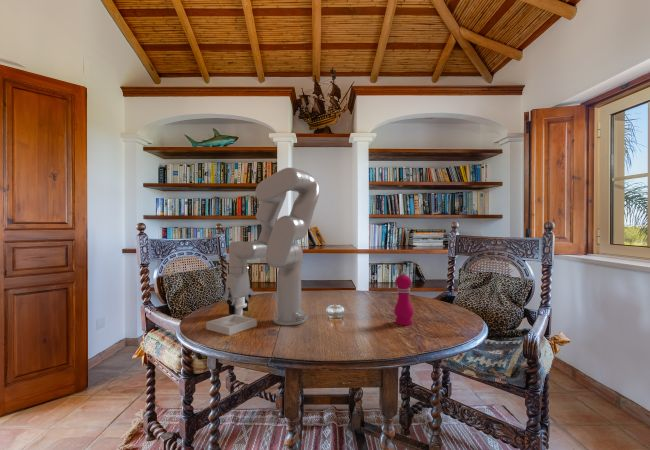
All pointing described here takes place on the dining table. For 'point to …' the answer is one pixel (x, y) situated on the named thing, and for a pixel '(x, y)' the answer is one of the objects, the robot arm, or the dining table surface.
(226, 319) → the tray
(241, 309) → the pipe fitting
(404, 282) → the pepper mill
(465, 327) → the dining table surface
